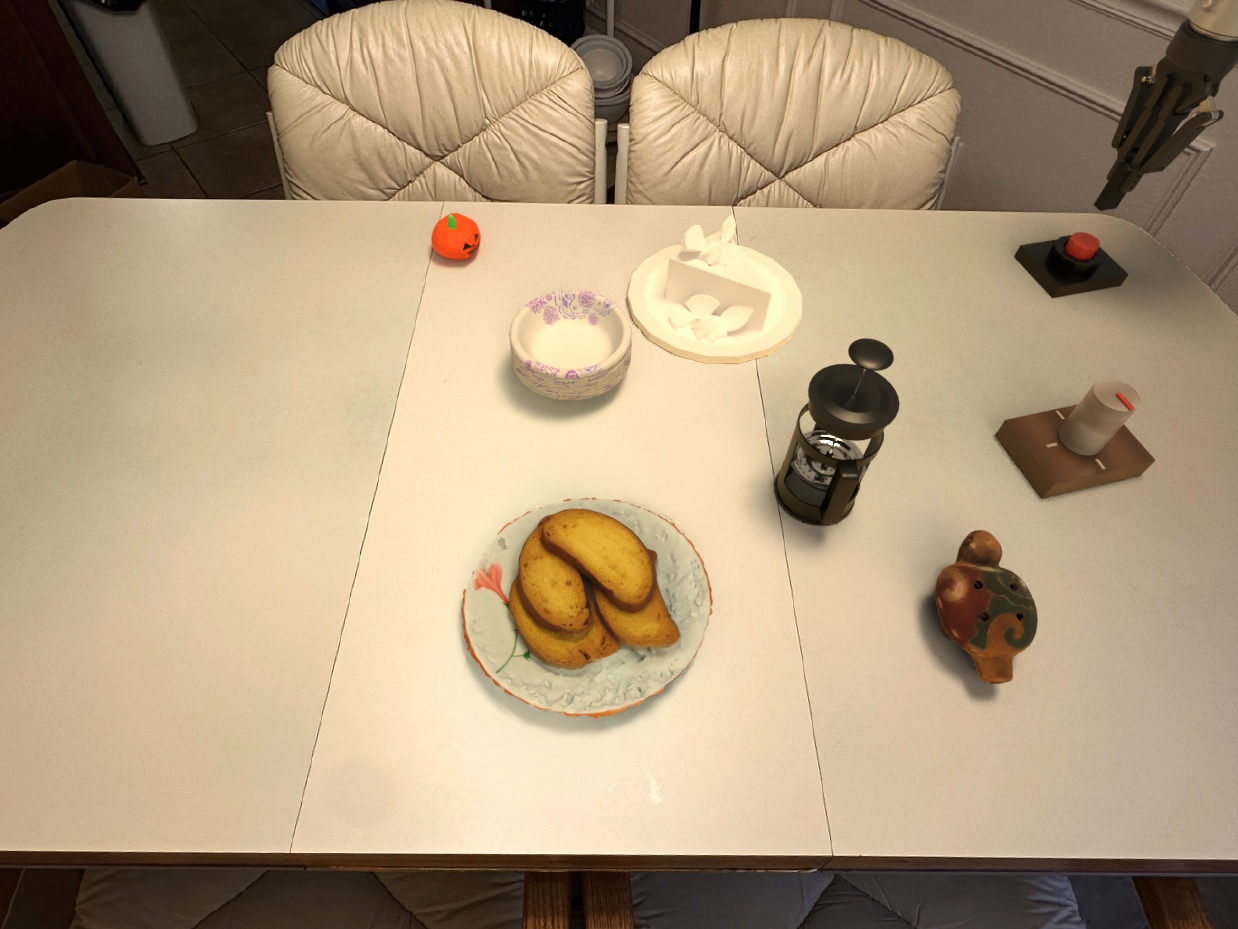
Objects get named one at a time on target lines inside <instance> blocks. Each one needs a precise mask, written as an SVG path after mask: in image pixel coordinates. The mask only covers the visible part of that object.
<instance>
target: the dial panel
mask: <svg viewBox="0 0 1238 929" xmlns="http://www.w3.org/2000/svg"><path fill="white" fill-rule="evenodd" d="M1078 404H1079V403H1078ZM1078 404H1073V405H1068V406H1064V407H1058V408H1054V409H1050V410H1049V409H1048V410H1045V411H1039V412H1036V413H1030V414H1026V415H1021V416H1017V417H1011V418H1007V419H1004V421H1003V422H1002V424H1001V425H1000V427H999V428H998V430H997V431H996V433H995V434H994V436H995V437H996V439H997V440H998V441H999V443H1000V444H1001V445H1002V447H1003V449H1004V450H1005V451H1006V453H1007V454H1008V455H1009V457H1010V458H1011V459H1012V460H1013V462H1014V464H1016V466H1017V467H1018V469H1019V470H1020V471H1021V473H1022V474H1023V475H1024V477H1025V478H1026V479H1027V481H1028V482H1029V484H1030V485H1031V486H1032V488H1033V489H1034V490H1035V492H1036V493H1037V495H1039V497H1040V499H1047V498H1050V497H1055V496H1058V495H1059V496H1060V495H1062V494H1068V493H1071V492H1076V491H1081V490H1084V489H1089V488H1092V487H1097V486H1100V485H1105V484H1109V483H1114V482H1117V481H1122V480H1126V479H1131V478H1136V477H1140V476H1142V475H1143V474H1144V473H1145V472H1146V471H1147V470H1148V469H1149V468H1150V467H1151V466H1152V465H1153V464H1154V463H1155V462H1156V459H1155V457H1153V455H1152V454H1151V453H1150V452H1149V451H1148V450H1147V449H1146V448H1145V447H1144V445H1143V444H1142V443H1141V442H1140V440H1139V439H1138V438H1137V437H1136V435H1134V434H1133V433H1132V431H1131V430H1130V428H1128V427H1127V426H1126V425H1125V423H1124V424H1123V425H1122V426H1121V428H1120V429H1119V430H1118V431H1117V432H1116V433H1115V434H1114V436H1113V437H1112V438H1111V439H1110V440H1109V441H1108V442H1107V443H1106V445H1105V446H1104V447H1103V448H1102V449H1101V450H1100V451H1099V452H1098V453H1097V454H1094V455H1090V456H1086V455H1080V454H1077V453H1074V452H1072V451H1070V450H1069V449H1067V448H1066V447H1065V446H1064V445H1063V444H1062V443H1061V441H1060V440H1059V437H1058V430H1059V428H1060V427H1061V425H1062V424H1063V423H1064V422H1065V420H1066V419H1067V418H1068V416H1069V415H1070V414H1071V413H1072V411H1073V410H1074V409H1075V408H1076V406H1077V405H1078Z"/></svg>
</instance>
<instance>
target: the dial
mask: <svg viewBox="0 0 1238 929" xmlns="http://www.w3.org/2000/svg"><path fill="white" fill-rule="evenodd" d="M1076 405H1077V404H1076ZM1140 405H1141V397H1140V394H1139V393H1138V392H1137V390H1136V389H1135V388H1133V387H1132V386H1131V385H1130V384H1128V383H1126V382H1124V381H1122V380H1120V379H1116V378H1110V377H1104V378H1100V379H1098V380H1095V382H1094V383H1093V384H1092V385H1091V387H1090V389H1088V391H1087V392H1086V393H1085V394H1084V396H1083V397H1082V398H1081V400H1079V402H1078V405H1077V406H1076V408H1075V409H1074V410H1073V411H1072V413H1071V414H1070V415H1069V416H1068V418H1067V419H1066V420H1065V422H1064V423H1063V424H1062V425H1061V427H1060V428H1059V430H1058V437H1059V440H1060V441H1061V443H1062V444H1063V445H1064V446H1065V447H1066V448H1067V449H1069V450H1070V451H1072V452H1074V453H1077V454H1080V455H1086V456H1090V455H1094V454H1097V453H1098V452H1099V451H1100V450H1101V449H1102V448H1103V447H1104V446H1105V445H1106V443H1107V442H1108V441H1109V440H1110V439H1111V438H1112V437H1113V436H1114V434H1115V433H1116V432H1117V431H1118V430H1119V429H1120V428H1121V426H1122V425H1123V424H1124V425H1125V423H1126V422H1127V421H1128V420H1129V419H1130V418H1131V416H1133V414H1134V413H1135V412H1136V410H1138V408H1139V407H1140Z"/></svg>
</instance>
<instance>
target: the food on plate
mask: <svg viewBox="0 0 1238 929" xmlns="http://www.w3.org/2000/svg"><path fill="white" fill-rule="evenodd" d="M500 538H501V539H504V546H506V547H507V548H506V549H501V548H500V546H499V543H498V542H499V540H500ZM481 555H482V557H481V560H480V561H479V563H478V565H477V567H476V569H475V570H472V579H471V581H470V582H469V586H468V589H466V588H465V589H464V590H463V591H462V596H463V597H462V604H461V605H462V606H461V616H462V619H463V621H462V628H463V629H462V630H463V638H464V639H465V643H466V646H467V651H469V653H470V655H471V657H472V659H473V660H474V661H475V662H476V663H477V665H478V666H479V667H480V669H481V671H482V672H483V673H484V675H485V676H486V677H487V678H489V679H491V681H492V682H493V684H495V686H497V687H500V688H502V689H503V692H504V693H505V694H507V695H509V696H511V697H514V698H516V699H518V700H519V701H521V702H522V703H524V704H526V705H530V706H533V707H534V708H536V709H538V710H542V711H544V712H545V713H548V712H549V711H552V712H555V713H558V714H563V715H565V716H566V717H573V718H577V717H582V716H587V717H591V718H593V719H595V720H598V719H599V718H600V717H601V718H602V717H609V716H613V715H616V714H619V713H622V712H623V711H625V710H627V709H628V708H630V707H632V706H637V707H639V706H640V705H641V704H642V703H644V702H645V701H646V699H647V698H650V697H653V696H655V695H658V694H661V693H663V691H664V688H665V687H666V685H667V684H669V683H670V682H672V681H673V680H675V679H676V678H678V677H679V676H680V675H681V673H682V671H683V670H684V669H685V668H686V667H688V666H690V664H691V663H692V662H693V659H694V658H695V657H696V655H697V652H698V650H699V649H700V647H702V646H701V645H702V643H703V639H704V637H705V633H706V630H707V627H708V626H709V622H710V616H711V615H713V609H712V606H713V605H714V604H713V603H714V600H713V595H712V590H713V589H712V587H711V582H710V579H709V575H708V572H707V570H706V568H705V563H704V561H703V559H702V557H701V555H700V553H699V552H698V551H697V550H696V547H695V545H694V544H693V542H692V541H691V539H689V538H688V537H687V536H686V534H685V533H684V532H683V533H682V531H680V530H679V528H678V527H677V526H676V524H675V523H674V522H671V521H669V520H668V519H667V518H664V517H663V516H661V515H659V514H656V513H654V512H652V511H651V510H649V509H647V508H642V507H641V506H638V505H635V504H632V503H627V502H626V501H621V500H619V499H614V500H613V499H612V500H605V499H601V498H596V497H592V498H591V499H590V498H588V497H585V498H578V499H572V498H566V499H563V500H562V502H559V503H555V504H548V505H545V506H544V507H539V508H537V509H536V510H530V511H527V512H525V513H524V514H523V515H521V516H519V517H517V518H515V519H514V520H513V521H510V522H508V523H506V524H505V525H504V526H503V527H502V528H501V529H500V530H499V532H498V533H497V535H496V537H495V538H494V539H493V540H492V541H491V542H490V543H489V547H488V549H485V551H484V552H483V553H482V554H481Z"/></svg>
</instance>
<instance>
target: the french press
mask: <svg viewBox="0 0 1238 929" xmlns="http://www.w3.org/2000/svg"><path fill="white" fill-rule="evenodd" d="M847 353H848V357H849V358H850V360H851V361H852V362H853V363H835V364H831V365H828V366H826V367H823V368H821V369H819V370H818V371H817V372H816V373H815V374H814V375H813V376H812V377H811V379H810V381H809V384H808V387H807V398H808V402H807V403H805V405H804V406H803V407H802V408H801V409H800V411H799V414H798V417H797V419H796V421H795V422H796V423H795V428H794V430H793V433H792V437H791V439H790V442H789V445H788V448H787V451H786V455H785V457H784V460H783V461H782V464H781V467H780V470H779V471H778V472H777V474H776V476H775V478H774V483H773V492H774V496H775V499H776V501H777V502H778V505H779V506H780V507H781V508H782V510H783V511H784V512H785V513H786V514H788V516H790V517H791V518H792V519H795V520H796V521H798V522H800V521H801V522H800V523H803V524H806V525H810V526H816V527H825V526H826V527H827V526H832V525H838V523H840V522H842V521H843V520H844V519H846V518H847V517H848V516H849V515H850V514H851V512H852V511H853V508H854V506H855V503H856V498H857V496H858V493H859V491H860V489H861V483H862V481H863V479H864V476H865V474H866V473H867V470H868V469H869V466H870V465H871V463H872V461H873V460H875V458H876V457H877V455H878V454H879V452H880V450H881V447H882V446H883V444H884V440H885V429H886V428H887V427H888V426H889V425H891V424H892V423H893V421H894V420H895V419H896V418H897V416H898V413H899V411H900V405H901V404H900V397H899V395H898V392H897V390H896V388H895V387H894V386H893V384H892V383H891V382H890V381H889V380H888V379H887V378H886V377H884V376H883V375H882V374H880V373H879V372H880V371H884V370H887V369H889V368H890V367H891V366H892V365H893V363H894V361H895V356H894V353H893V350H892V349H891V348H890V347H889V346H888V345H887V344H886V343H885V342H882V341H880V340H878V339H874V338H868V337H865V338H858V339H856V340H854V341H852V342H851V343H850V344H849V346H848V349H847ZM807 412H809V415H810V417H811V418H812V420H813V422H814V426H813V429H812V430H810V431H806V432H804V433H803V431H802V429H801V421H800V420H801V419H802V417H803V416H804V415H805V413H807ZM866 440H869V441H868V445H867V447H866V449H865V451H864V453H863V451H862V450H861V449H860V447H859V446H858V445H857V444H856V443H855V442H856V441H857V442H859V441H860V442H861V441H866ZM793 473H794V474H795V475H796V476H797V478H798V479H799V480H800V481H801V482H803V484H806V485H807V486H809V487H810V488H811V489H815V490H817V491H820V492H823V493H824V495H823V498H822V500H821V502H820V504H819V506H818V505H815V504H811V503H809V502H807V501H804V500H802V498H799V497H798V496H797V495H796V494H795V493H794V492H793V491H792V490H791V489H790V488H789V487H788V484H787V481H788V479H789V477H790V476H791V475H792V474H793Z"/></svg>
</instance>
